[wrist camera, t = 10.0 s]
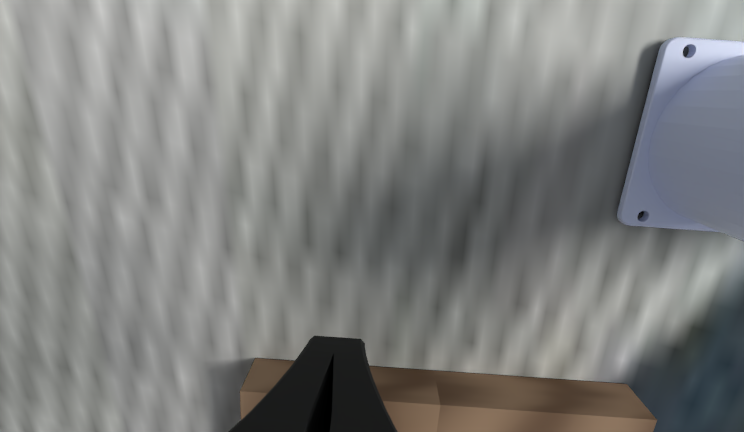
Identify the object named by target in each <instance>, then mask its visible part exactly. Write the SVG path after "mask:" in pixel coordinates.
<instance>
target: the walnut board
mask: <svg viewBox="0 0 744 432" xmlns="http://www.w3.org/2000/svg"><path fill="white" fill-rule="evenodd" d="M294 362H295V361H289V360H274V359H260V358H255V360H254V362H253V364H252V366H251V368H250V371H249V373H248V375H247V377H246V379H245V381H244V383H243V386H242V388H241V390H240V409H241V420H242V419H243V418H244V417H245V416H246V415H247V414H248V413H249V412H250V411H251V410H252V409H253V408H254V407H255V406H256V405H257V404H258V403H259V402H260V401H261V400H262V399H263V398H264V396H265V395H266V394H267V393H268V392H269V391H270V390H271V389H272V388H273V387H274V386H275V385H276V383H277V382H278V381H279V380H280V379H281V377H282V376H283V375H284V374H285V373H286V371H287V370H288V369H289V368H290V367H291V365H292V364H293V363H294ZM369 367H370V371H371V374H372V377H373V379H374V382H375V384H376V387H377V389H378V392H379V394H380V397H381V399H382V401H383V403H384V406H385V408H386V410H387V412H388V414H389V416H390V418H391V420H392V422H393V424H394V426H395V428H396V430H397V432H653V430H654V427H655V424H656V422H657V419H656V418H655V417H654V416H653V415H652V414H651V412H650V411H649V410H648V409H647V408H646V406H645V405H644V404H643V403H642V402H641V401H640V399H639V398H638V397H637V396H636V395H635V393H634V392H633V391H632V390H631V389H630V388H629V386H628V385H627V384H619V383H605V382H590V381H576V380H561V379H547V378H533V377H518V376H504V375H490V374H475V373H461V372H447V371H432V370H418V369H404V368H389V367H375V366H369Z"/></svg>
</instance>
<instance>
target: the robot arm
mask: <svg viewBox="0 0 744 432" xmlns="http://www.w3.org/2000/svg"><path fill="white" fill-rule="evenodd" d="M685 46H687V47H688V48H689V53H688V55H687V56H686V57H684V56H683V49H684V47H685ZM641 211H644V215H643V216H642V217H641V218H640V219H637V216H638V214H639V213H640V212H641ZM617 218H618V220H619V221H620V222H621V223H623V224H625V225H629V226H642V227H656V228H670V229H684V230H698V231H712V232H722V233H725V234H727V235H730V236H732V237H734V238H737V239H739V240H742V241H744V42H742V41H728V40H714V39H701V38H687V37H676V38H670V39H668V40H666V41H665V42H664V43H663V44H662V45H661V47H660V49H659V52H658V56H657V60H656V64H655V68H654V72H653V76H652V79H651V83H650V87H649V91H648V95H647V99H646V103H645V107H644V110H643V114H642V118H641V122H640V126H639V130H638V134H637V138H636V141H635V145H634V149H633V153H632V157H631V161H630V165H629V169H628V172H627V176H626V180H625V184H624V188H623V192H622V196H621V200H620V203H619V207H618V211H617ZM229 432H397V430H396V428H395V426H394V424H393V422H392V420H391V418H390V416H389V414H388V412H387V410H386V408H385V406H384V403H383V401H382V399H381V397H380V394H379V392H378V389H377V387H376V384H375V382H374V379H373V377H372V374H371V371H370V367H369V364H368V361H367V357H366V352H365V343H364V342H363V341H362V340H361V339H352V338H338V337H324V336H314V337H313V338H311V339H310V340H309V342H308V344H307V345H306V347H305V348H304V349H303V351H302V352H301V354H300V355H299V356H298V358H297V359H296V360H295V362H294V363H293V364H292V365H291V367H290V368H289V369H288V370H287V371H286V373H285V374H284V375H283V376H282V377H281V379H280V380H279V381H278V382H277V383H276V385H275V386H274V387H273V388H272V389H271V390H270V391H269V392H268V393H267V394H266V395H265V396H264V398H263V399H262V400H261V401H260V402H259V403H258V404H257V405H256V406H255V407H254V408H253V409H252V410H251V411H250V412H249V413H248V414H247V415H246V416H245V417H244V418H243V419H242V420H241V421H240V422H239V423H238V424H236V425H235V426H234V427H233V428H232V429H231V430H230V431H229Z"/></svg>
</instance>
